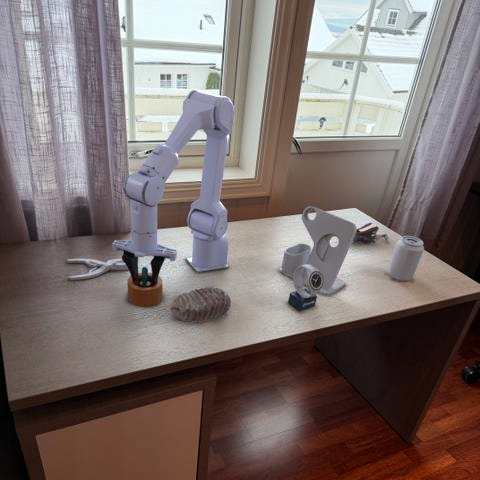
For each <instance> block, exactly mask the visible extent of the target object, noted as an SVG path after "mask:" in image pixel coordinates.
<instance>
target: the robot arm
mask: <svg viewBox="0 0 480 480" xmlns="http://www.w3.org/2000/svg"><path fill="white" fill-rule="evenodd" d="M235 108H236V107H235V106H234V103H233V102H232V100H231V99H230V97H228V96H223V95H217V94H213V93H209V92H204V91H201V90H200V89H199V90H198V89H192V90H190V91H189V93H188V94H187V96H186V98H185V99H184V100H183V101H182V114H181V115H180V117H179V118H178V121H177V122H176V124H175V125H174V127H173V129H172V131H171V132H170V134H169V136H168V137H167V139H166V141H165V142H164V143H162V144H157V145H155V146H154V148H153V149H152V150H151V152H150V154H149V155H148V156H147V158H146V159H145V161H144V162H143V163H142V164H141V166H140V167H139V169H138V170H137V171H135V172H132V173H130V174H129V175H128V176H127V177H126V179H125V181H124V186H123V187H122V191H123V194H124V196H125V197H126V199H127V205H128V206H129V210H130V211H129V213H130V214H129V215H130V237H131V238H130V239H131V240H121V239H120V240H119V239H114V241H113V242H112V243H111V245H112V251H113V252H118V251H120V252H123V253H122V255H121V259H122V260H123V261H124V263H125V264H126V266H127V267H128V272H129V275H130V276H131V277H132V280H133V282H136V280H137V279H138V273H139V258H144V257H153V258H152V259H151V260H150V261H149V262H150V270H151V273H152V285H156V283H157V281H158V276H159V275H160V272H161V269H162V267H163V264H164V262H165V260H166V259H167V260H169V261H170V262H175V261H176V259H177V254H178V253H177V251H178V250H177V249H173V248H170V247H167V246H164V245H161V244H159V243H158V204H159V203H160V202H161V201H162V199H163V197H164V194H165V193H164V192H165V188H166V185H167V180H168V179H169V178H170V176H171V175H172V173H173V172H174V170H175V169H176V168H177V166H178V165H179V154H180V153H181V151H182V150H183V149H184V148H185V147H186V145H187V144H188V143H189V142H190V141H191V139H192V138H193V137H194V136H195V134H196V133H197V132H198V131H200V130H202V131H203V132H204V133H205V135H206V140H205V147H204V156H203V164H202V173H201V174H202V175H201V182H200V190H199V198H198V199H197V200H195V201H193V202H192V203H190V210H189V213H188V215H187V218H186V224H187V227H188V228H189V229H190V233H191V234H192V236H193V237H192V250H191V251H192V252H191V256H189V257H186V261H187V262H188V263H189V265H191V267H192V268H193V269H194V270H195V272H196V273H203V272H208V271H214V270H220V269H226V268H228V264H227V263H228V254H229V239H228V237H227V234H226V233H227V231H228V226H229V223H228V210H227V208H226V206H224V205H223V203H222V202H221V194H222V187H223V180H224V175H225V173H224V172H225V166H226V158H227V154H228V153H227V152H228V144H229V137H230V135H231V134H232V129H233V123H234V116H235ZM159 277H160V276H159Z"/></svg>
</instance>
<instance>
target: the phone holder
mask: <svg viewBox="0 0 480 480" xmlns="http://www.w3.org/2000/svg"><path fill="white" fill-rule="evenodd" d="M311 211H314V212H315V217H314V218H313V219H310V218H309V213H311ZM301 221H302V223H303V225H304V227H305V228H306V231H307V232H308V234H309V236H310V238H311V240H312V242H313V247H311V245H309V244H307V243H297V244H294V245H293V246H290V247H288V248H286V249H285V250H284V251H283V258H282V263H281V267H280V268H279V273H281V274H283V275H285V276H287V277H289V278H290V279H293V275H294V271H295V269H296V268H297V267H299V266H302V265H305V264H310V265H312V266H314V267H315V268H317V270H318V271H319V272H320V273H321V274H322V276H323V278H324V279H323V286H322V288H321V290H320V291H319V293H318V294H321V295H323V296H330V295H331V294H334V293H335V292H336V291H338V290H341V288H343V287H344V286H345V281H344V280H342V279H340V278H338V275H339V273H340V271H341V269H342V265H343V263H344V261H345V259H346V257H347V255H348V252H349V250H350V248H351V245H352V243H353V239H354V236H355V234H356V232H357V229H358V228H357V225H356V224H355V223H354V222H352V221H350V220H347V219H346V218H345V219H344V218H342V217H340V216H338V215H335V214H332V213H330V212H328V211H326V210H324V209H323V210H322V209H320V208H317V207H315V206H312V205H310V206H307V207H306V208H304V210H303V211H302V214H301ZM332 238H337V239H338V244H337V245H336V246H332V245H331V243H330V242H331V240H332ZM306 271H307V270H306V269H305V268H302V269H301V275H302V283H303V286H306V287H307V285H306V277H307V274H306Z"/></svg>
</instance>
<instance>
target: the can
mask: <svg viewBox="0 0 480 480" xmlns="http://www.w3.org/2000/svg"><path fill="white" fill-rule="evenodd" d="M424 245H425V244H424V241H423V240H422V239H421V238H418V237H416V236H414V235H403V236H401V238H400V239H399V240H397V242H396V244H395V247H394V251H393V254H392V256H391V259H390V262H389V266H388V268H387V274H388V275H389V276H390V277H391V279H394V280H395V281H397V282H408V281H411V280H413V278H414V276H415V275H416V271H417V268H418V266H419V263H420V261H421V258H422V256H423V252H424V251H425V246H424Z"/></svg>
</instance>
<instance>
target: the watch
mask: <svg viewBox="0 0 480 480" xmlns="http://www.w3.org/2000/svg"><path fill="white" fill-rule="evenodd" d="M302 268H305V269H306V270H307V271H306V274H307V277H306V285H307V286H306V285H305V286H306V287H304V284H303V283H302V275H301V269H302ZM323 279H324V278H323V276H322V274H321V273H320V272H319V271H318V270H317V268H315V267H314V266H312V265H310V264H305V265H302V266H299V267H297V268H296V269H295V271H294V275H293V285H294V286H293V287H294V289H295V291H292V292H289V295H288V300H287V304H288V305H289V306H290V307H292V308H293V309H295V310H296V311H297V312H298V313H301V312H303V311H306V310H308V309H311V308H314V307H315V306H316V303H317V299H318V294H320V293H319V291H320V290H321V288H322V286H323Z"/></svg>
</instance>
